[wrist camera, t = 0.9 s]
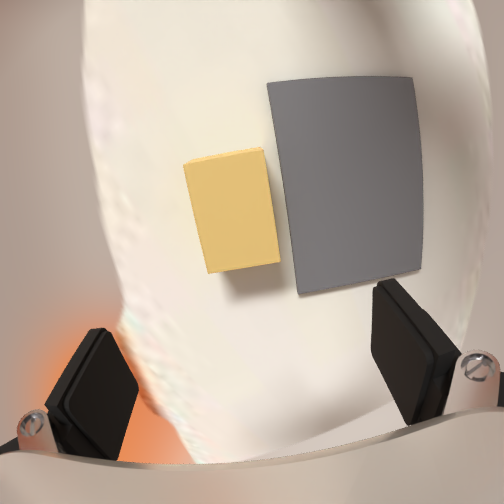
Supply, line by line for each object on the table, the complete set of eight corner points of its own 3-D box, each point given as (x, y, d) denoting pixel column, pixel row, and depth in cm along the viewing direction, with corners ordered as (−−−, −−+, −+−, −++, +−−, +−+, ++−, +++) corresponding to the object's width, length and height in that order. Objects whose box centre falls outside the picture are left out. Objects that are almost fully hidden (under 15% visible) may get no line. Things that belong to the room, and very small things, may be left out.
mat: (266, 84, 23) (267, 83, 23) (409, 78, 23) (412, 77, 22) (297, 291, 31) (298, 294, 30) (418, 266, 30) (420, 269, 30)
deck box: (192, 159, 26) (182, 165, 22) (259, 147, 26) (263, 149, 22) (212, 252, 29) (208, 273, 25) (275, 242, 29) (280, 261, 25)
